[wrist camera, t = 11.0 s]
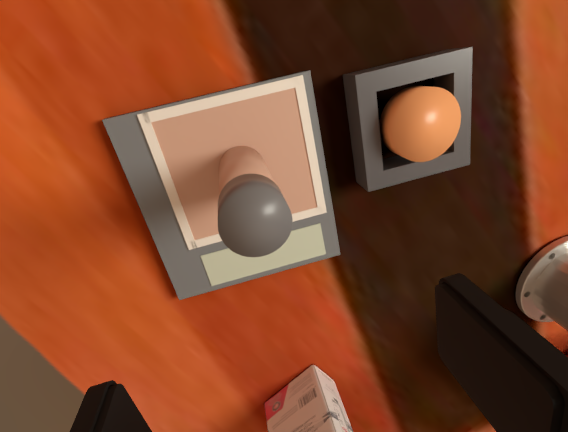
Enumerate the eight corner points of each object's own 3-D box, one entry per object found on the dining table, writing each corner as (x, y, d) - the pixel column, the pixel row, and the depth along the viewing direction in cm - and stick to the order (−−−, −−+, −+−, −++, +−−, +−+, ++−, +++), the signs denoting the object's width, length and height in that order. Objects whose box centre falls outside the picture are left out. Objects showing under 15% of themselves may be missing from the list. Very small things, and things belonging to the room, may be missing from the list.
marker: (259, 139, 29) (284, 180, 18) (270, 184, 31) (298, 246, 20) (211, 151, 29) (207, 200, 18) (225, 196, 31) (229, 265, 20)
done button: (442, 78, 29) (461, 79, 27) (443, 146, 31) (460, 152, 29) (376, 94, 29) (389, 96, 26) (382, 162, 31) (395, 169, 29)
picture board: (307, 70, 29) (310, 70, 28) (337, 250, 36) (341, 255, 35) (105, 118, 27) (101, 120, 26) (180, 294, 35) (179, 301, 34)
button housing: (449, 49, 30) (472, 46, 27) (449, 157, 34) (469, 164, 32) (342, 74, 29) (355, 75, 27) (356, 182, 34) (368, 191, 31)
